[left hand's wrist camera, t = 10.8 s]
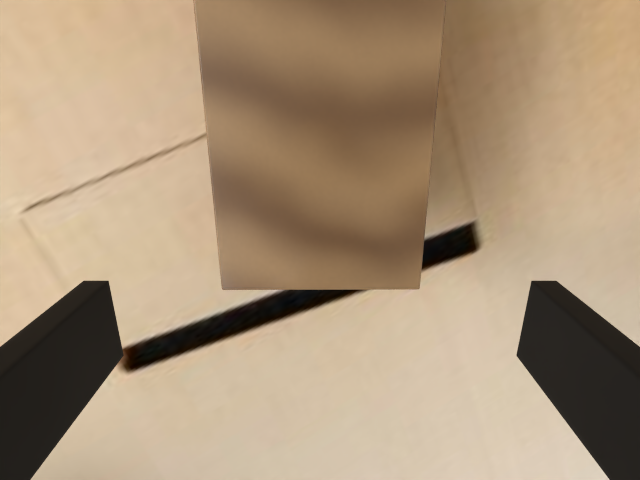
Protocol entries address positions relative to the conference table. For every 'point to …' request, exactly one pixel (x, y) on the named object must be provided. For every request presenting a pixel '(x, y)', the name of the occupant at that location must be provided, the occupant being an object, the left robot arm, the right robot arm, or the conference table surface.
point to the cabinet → (320, 138)
